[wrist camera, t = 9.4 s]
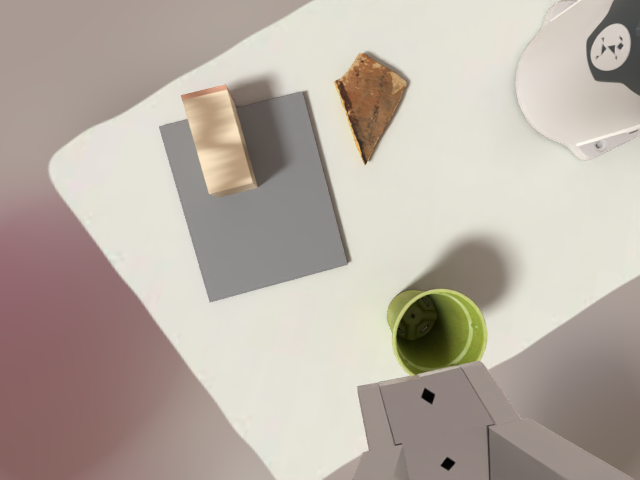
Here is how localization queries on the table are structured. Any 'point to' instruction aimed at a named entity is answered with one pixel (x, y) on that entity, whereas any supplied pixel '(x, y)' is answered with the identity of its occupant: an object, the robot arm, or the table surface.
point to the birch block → (219, 141)
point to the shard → (369, 100)
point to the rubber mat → (260, 203)
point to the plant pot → (436, 330)
